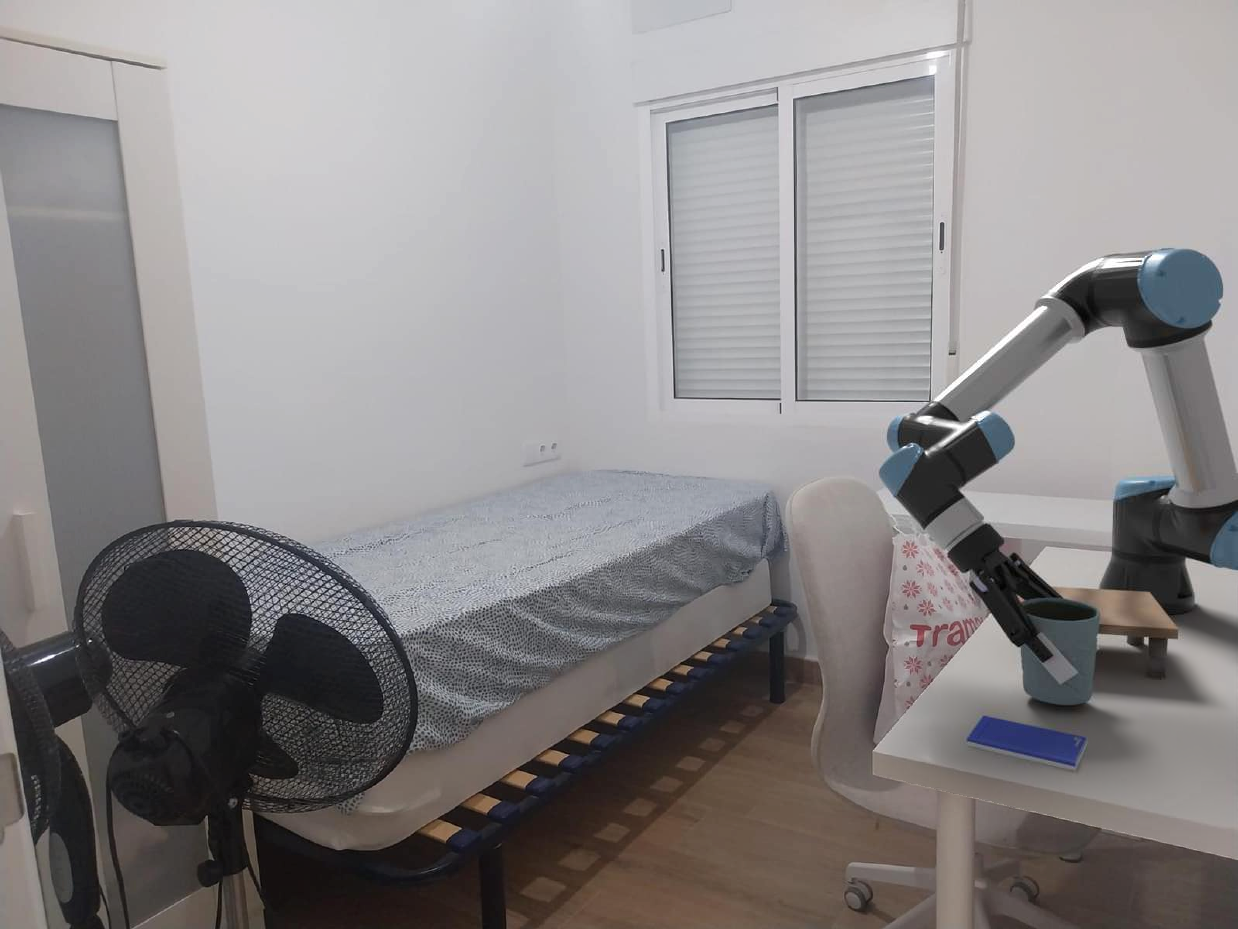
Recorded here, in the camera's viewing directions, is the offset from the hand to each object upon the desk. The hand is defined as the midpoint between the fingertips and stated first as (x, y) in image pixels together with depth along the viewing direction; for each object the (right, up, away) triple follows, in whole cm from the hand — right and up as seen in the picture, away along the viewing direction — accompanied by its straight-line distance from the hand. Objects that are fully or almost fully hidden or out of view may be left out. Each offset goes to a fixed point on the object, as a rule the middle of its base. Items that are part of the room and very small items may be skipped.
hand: (1080, 666), depth 123 cm
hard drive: (-11, -9, -9) cm, 17 cm away
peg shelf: (+11, -2, +19) cm, 22 cm away
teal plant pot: (-2, -4, +3) cm, 6 cm away
